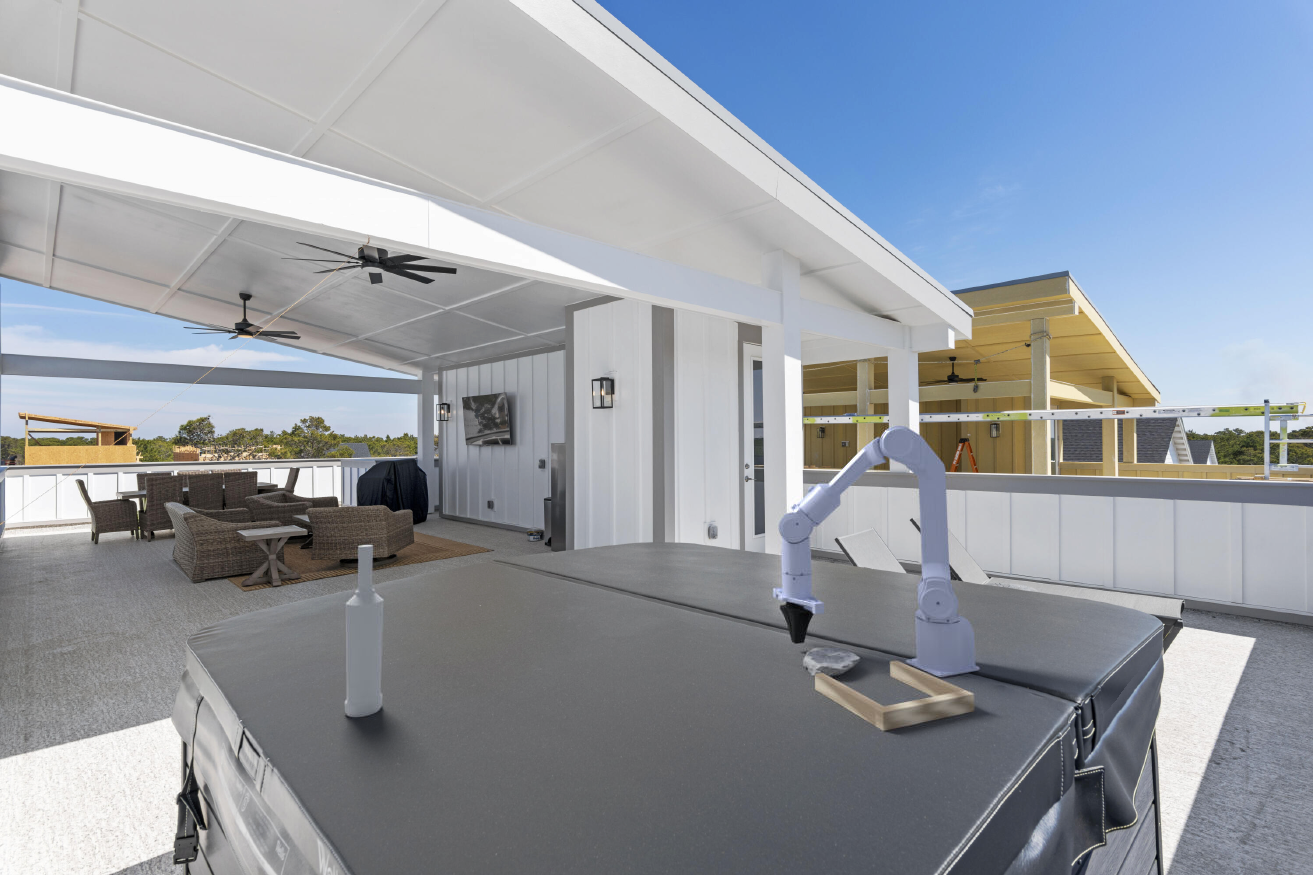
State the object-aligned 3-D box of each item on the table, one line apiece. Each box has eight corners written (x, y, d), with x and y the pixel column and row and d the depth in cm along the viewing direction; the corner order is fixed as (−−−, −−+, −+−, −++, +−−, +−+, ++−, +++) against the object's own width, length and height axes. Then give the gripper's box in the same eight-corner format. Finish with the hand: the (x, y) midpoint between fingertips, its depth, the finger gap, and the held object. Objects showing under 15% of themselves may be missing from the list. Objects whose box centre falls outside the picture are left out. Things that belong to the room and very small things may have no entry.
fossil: (799, 642, 110) (852, 634, 108) (803, 663, 110) (857, 655, 108) (803, 669, 98) (862, 660, 97) (808, 692, 99) (868, 684, 97)
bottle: (390, 705, 89) (391, 544, 90) (363, 719, 84) (365, 548, 85) (364, 701, 91) (366, 542, 92) (336, 715, 86) (338, 547, 87)
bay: (897, 675, 100) (896, 660, 100) (974, 710, 85) (974, 693, 85) (815, 689, 94) (814, 674, 94) (883, 730, 79) (882, 712, 79)
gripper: (760, 568, 119) (761, 634, 118) (800, 581, 105) (802, 656, 105) (789, 565, 121) (790, 630, 121) (832, 578, 108) (834, 651, 107)
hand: (798, 642), depth 113 cm, fingers closed
